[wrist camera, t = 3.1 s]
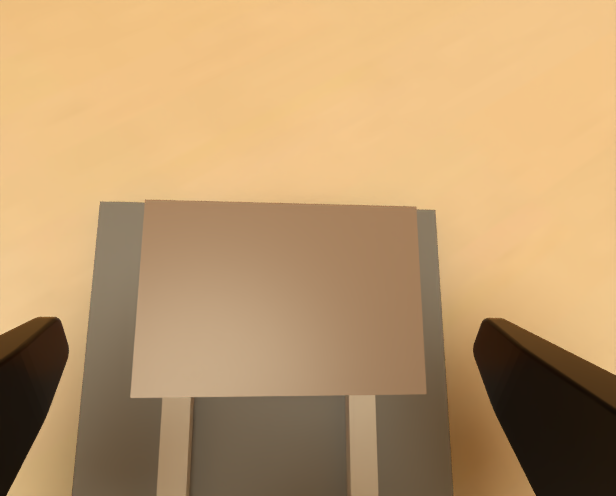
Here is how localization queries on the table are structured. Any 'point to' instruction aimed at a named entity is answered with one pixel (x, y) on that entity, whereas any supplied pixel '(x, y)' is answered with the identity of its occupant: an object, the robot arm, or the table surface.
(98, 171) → the table surface
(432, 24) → the table surface
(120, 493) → the board
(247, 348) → the fader tab
